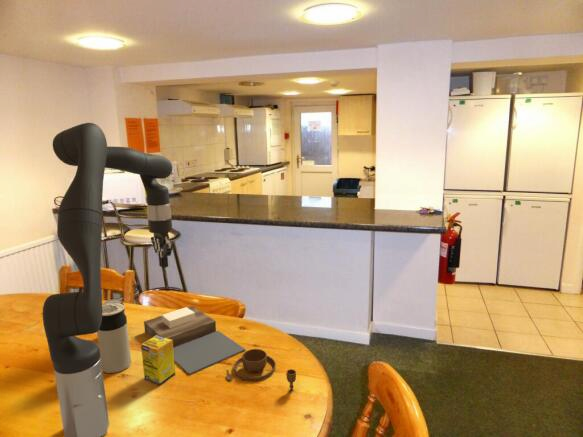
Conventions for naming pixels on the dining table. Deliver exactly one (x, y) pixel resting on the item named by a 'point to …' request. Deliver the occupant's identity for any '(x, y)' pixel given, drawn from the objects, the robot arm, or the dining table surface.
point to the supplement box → (158, 359)
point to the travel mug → (114, 339)
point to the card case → (178, 317)
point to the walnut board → (181, 328)
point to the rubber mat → (205, 352)
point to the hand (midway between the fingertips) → (163, 266)
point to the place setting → (259, 366)
